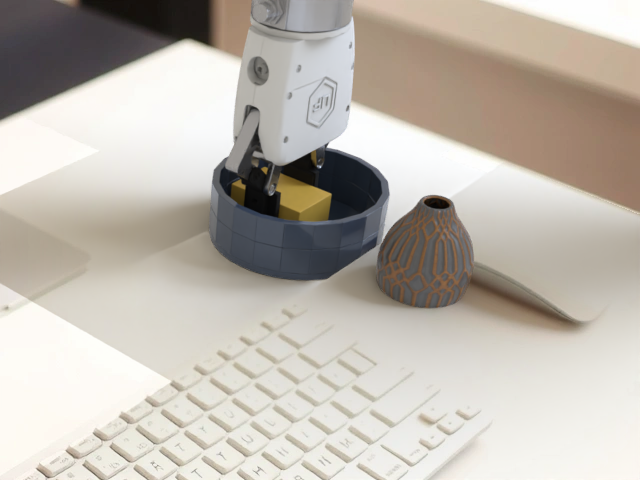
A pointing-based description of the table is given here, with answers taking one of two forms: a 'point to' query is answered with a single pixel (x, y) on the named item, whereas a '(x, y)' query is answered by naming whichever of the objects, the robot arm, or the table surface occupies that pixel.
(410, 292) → the vase
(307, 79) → the robot arm
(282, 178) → the yellow block
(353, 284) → the table surface
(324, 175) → the bowl
